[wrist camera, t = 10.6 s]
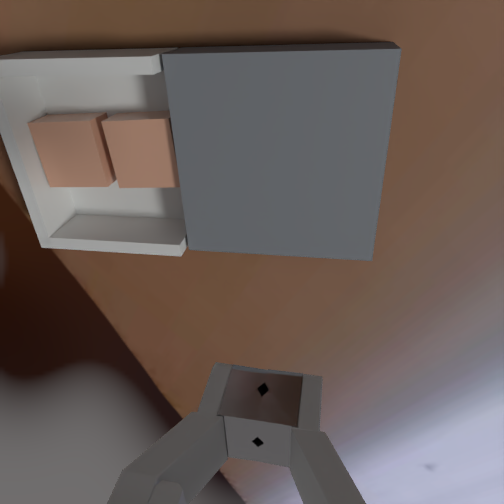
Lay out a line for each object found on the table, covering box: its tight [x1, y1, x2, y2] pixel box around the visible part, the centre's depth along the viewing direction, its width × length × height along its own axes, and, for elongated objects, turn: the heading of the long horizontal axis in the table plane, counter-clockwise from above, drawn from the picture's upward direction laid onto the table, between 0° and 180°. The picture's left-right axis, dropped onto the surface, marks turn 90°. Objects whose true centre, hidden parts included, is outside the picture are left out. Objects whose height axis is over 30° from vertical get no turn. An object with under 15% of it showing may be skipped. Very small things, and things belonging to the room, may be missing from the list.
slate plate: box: [162, 42, 401, 261], centre depth 29 cm, size 14×14×4 cm
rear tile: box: [27, 112, 117, 187], centre depth 32 cm, size 5×5×2 cm
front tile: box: [101, 110, 180, 188], centre depth 30 cm, size 5×5×2 cm
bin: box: [0, 48, 188, 256], centre depth 31 cm, size 14×12×5 cm
